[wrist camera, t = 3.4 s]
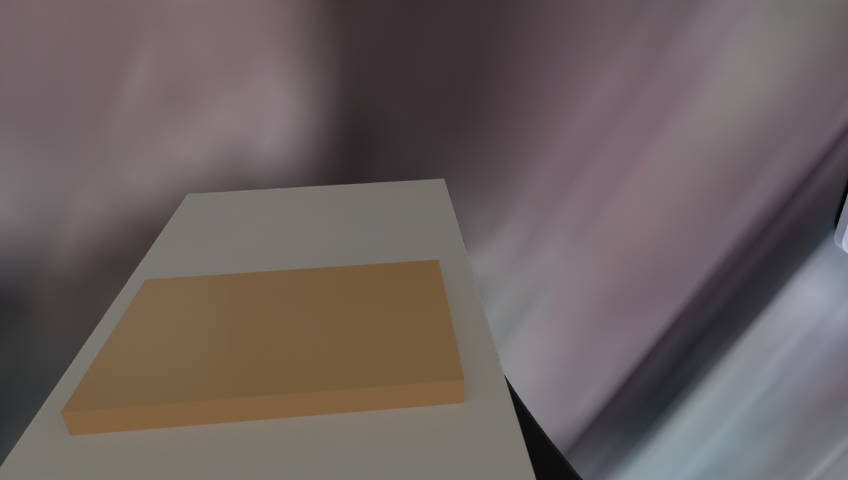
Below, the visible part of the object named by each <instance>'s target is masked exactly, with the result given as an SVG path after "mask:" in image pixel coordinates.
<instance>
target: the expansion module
mask: <svg viewBox="0 0 848 480" xmlns="http://www.w3.org/2000/svg"><path fill="white" fill-rule="evenodd" d="M0 480H536V478H535V474H534V471H533V468H532V465H531V461H530V458H529V455H528V452H527V448H526V445H525V442H524V438H523V435H522V432H521V429H520V425H519V422H518V419H517V416H516V412H515V409H514V406H513V402H512V399H511V396H510V393H509V389H508V386H507V383H506V379H505V376H504V373H503V370H502V366H501V363H500V360H499V357H498V353H497V350H496V347H495V343H494V340H493V337H492V334H491V330H490V327H489V324H488V321H487V317H486V314H485V311H484V307H483V304H482V301H481V298H480V294H479V291H478V288H477V285H476V281H475V278H474V275H473V271H472V268H471V265H470V262H469V258H468V255H467V252H466V248H465V245H464V242H463V239H462V235H461V232H460V229H459V226H458V222H457V219H456V216H455V212H454V209H453V206H452V203H451V199H450V196H449V193H448V190H447V186H446V183H445V180H444V179H429V180H412V181H396V182H379V183H363V184H346V185H330V186H313V187H297V188H280V189H263V190H247V191H230V192H214V193H197V194H187V196H186V197H185V199H184V200H183V202H182V203H181V204H180V206H179V207H178V209H177V210H176V212H175V213H174V215H173V216H172V218H171V219H170V221H169V222H168V223H167V225H166V226H165V228H164V229H163V231H162V232H161V234H160V235H159V237H158V238H157V239H156V241H155V242H154V244H153V245H152V247H151V248H150V250H149V251H148V253H147V254H146V256H145V257H144V258H143V260H142V261H141V263H140V264H139V266H138V267H137V269H136V270H135V272H134V273H133V274H132V276H131V277H130V279H129V280H128V282H127V283H126V285H125V286H124V288H123V289H122V291H121V292H120V293H119V295H118V296H117V298H116V299H115V301H114V302H113V304H112V305H111V307H110V308H109V309H108V311H107V312H106V314H105V315H104V317H103V318H102V320H101V321H100V323H99V324H98V326H97V327H96V328H95V330H94V331H93V333H92V334H91V336H90V337H89V339H88V340H87V342H86V343H85V344H84V346H83V347H82V349H81V350H80V352H79V353H78V355H77V356H76V358H75V359H74V361H73V362H72V363H71V365H70V366H69V368H68V369H67V371H66V372H65V374H64V375H63V377H62V378H61V379H60V381H59V382H58V384H57V385H56V387H55V388H54V390H53V391H52V393H51V394H50V396H49V397H48V398H47V400H46V401H45V403H44V404H43V406H42V407H41V409H40V410H39V412H38V413H37V414H36V416H35V417H34V419H33V420H32V422H31V423H30V425H29V426H28V428H27V429H26V431H25V432H24V433H23V435H22V436H21V438H20V439H19V441H18V442H17V444H16V445H15V447H14V448H13V450H12V451H11V452H10V454H9V455H8V457H7V458H6V460H5V461H4V463H3V464H2V466H1V467H0Z"/></svg>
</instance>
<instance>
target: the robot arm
mask: <svg viewBox="0 0 848 480" xmlns="http://www.w3.org/2000/svg"><path fill="white" fill-rule="evenodd" d="M834 241H835V244H836V245H837V246H838V247H840V248H841V249H843V250H844V251H846V252H847V253H848V195H847V198H846V201H845V204H844V207H843V210H842V213H841V217H840V220H839V223H838V226H837V229H836V232H835V236H834ZM504 376H505V375H504ZM505 379H506V383H507V386H508V389H509V393H510V396H511V399H512V402H513V406H514V409H515V412H516V416H517V419H518V422H519V425H520V429H521V432H522V435H523V438H524V442H525V445H526V448H527V452H528V455H529V458H530V461H531V465H532V468H533V471H534V474H535V478H536V480H583V479H582V478H581V477H580V476H579V475H578V474H577V472H576V471H575V470H574V469H573V467H572V466H571V465H570V464H569V462H568V461H567V460H566V459H565V458H564V456H563V455H562V454H561V453H560V451H559V450H558V449H557V448H556V446H555V445H554V444H553V443H552V441H551V440H550V439H549V438H548V436H547V435H546V434H545V432H544V431H543V430H542V428H541V427H540V426H539V424H538V423H537V422H536V420H535V419H534V417H533V416H532V415H531V413H530V412H529V411H528V409H527V408H526V406H525V405H524V404H523V402H522V401H521V399H520V398H519V396H518V395H517V393H516V392H515V390H514V389H513V387H512V386H511V384H510V383H509V381H508V380H507V378H506V376H505Z"/></svg>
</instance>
